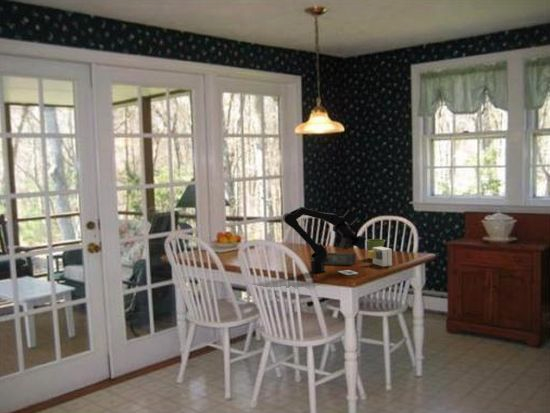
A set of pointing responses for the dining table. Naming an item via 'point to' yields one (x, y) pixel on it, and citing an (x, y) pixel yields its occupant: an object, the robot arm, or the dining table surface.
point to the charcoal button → (379, 255)
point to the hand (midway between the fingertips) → (362, 249)
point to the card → (348, 272)
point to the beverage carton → (340, 258)
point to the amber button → (371, 254)
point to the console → (383, 256)
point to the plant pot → (375, 243)
